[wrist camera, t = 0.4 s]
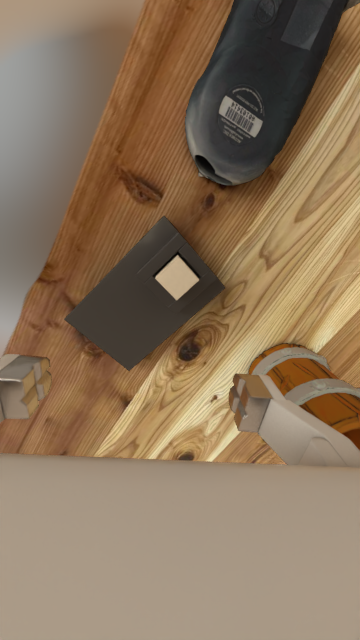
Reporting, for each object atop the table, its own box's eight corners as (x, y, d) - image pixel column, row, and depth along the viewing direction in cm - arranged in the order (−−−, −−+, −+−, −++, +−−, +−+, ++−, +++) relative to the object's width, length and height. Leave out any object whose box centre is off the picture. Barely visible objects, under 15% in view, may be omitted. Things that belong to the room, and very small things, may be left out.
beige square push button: (177, 254, 21) (178, 256, 19) (197, 276, 22) (199, 280, 20) (156, 275, 22) (155, 278, 20) (176, 295, 23) (176, 300, 21)
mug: (317, 331, 29) (451, 418, 15) (316, 417, 36) (412, 534, 22) (240, 349, 30) (304, 450, 16) (253, 431, 36) (307, 555, 22)
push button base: (164, 217, 23) (163, 213, 19) (221, 283, 26) (230, 292, 22) (71, 312, 26) (56, 325, 23) (131, 361, 30) (126, 379, 26)
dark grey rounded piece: (237, -33, 18) (167, 157, 20) (283, -150, 12) (181, 125, 15) (314, 50, 21) (244, 205, 23) (376, -16, 15) (277, 192, 18)
